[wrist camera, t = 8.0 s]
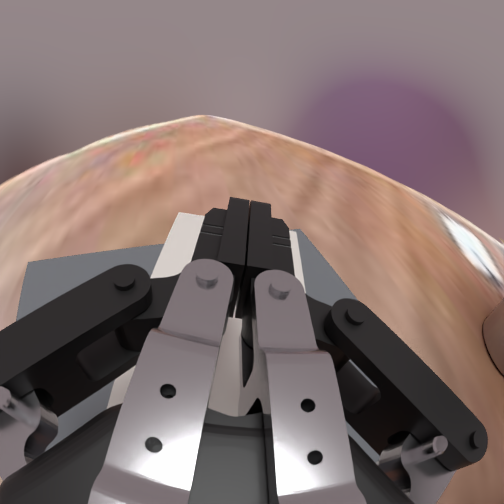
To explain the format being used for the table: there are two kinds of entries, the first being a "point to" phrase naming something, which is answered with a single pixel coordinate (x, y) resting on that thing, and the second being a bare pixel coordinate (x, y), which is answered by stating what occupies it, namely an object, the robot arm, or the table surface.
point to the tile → (227, 369)
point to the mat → (92, 264)
